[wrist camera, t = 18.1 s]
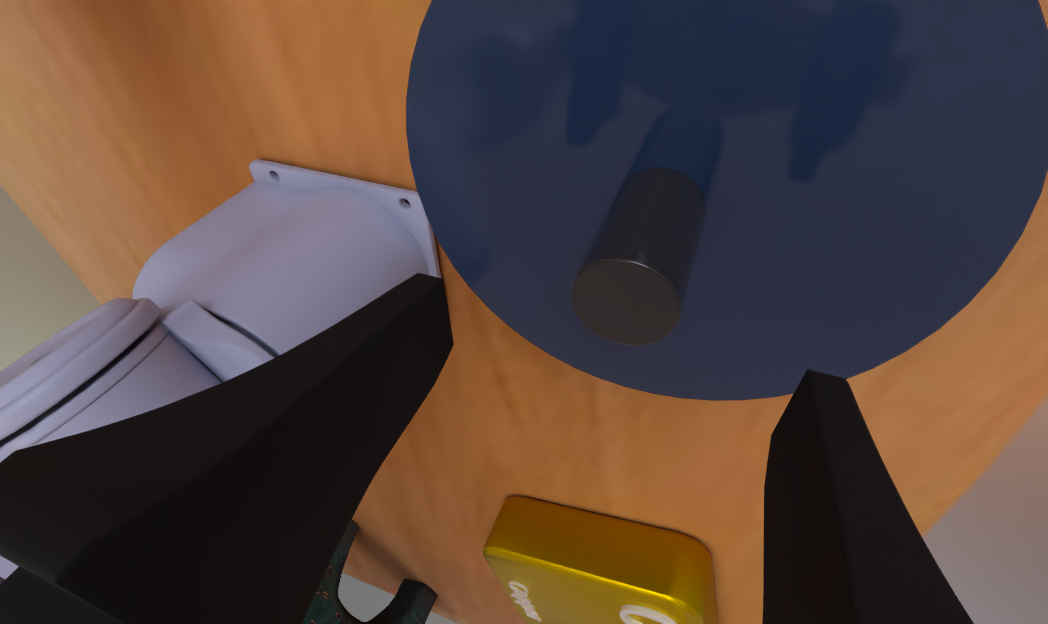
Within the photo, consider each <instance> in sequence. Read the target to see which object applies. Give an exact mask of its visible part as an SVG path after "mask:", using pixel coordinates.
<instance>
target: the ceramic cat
mask: <svg viewBox="0 0 1048 624" xmlns="http://www.w3.org/2000/svg"><path fill="white" fill-rule="evenodd" d="M358 530H359V527H358V526H357V524H355V523H354V522H353V521H352V520H351V521H350V523H349V525H348V527H347V529H346V531H345V533H344V535H343V537H342V539H341V541H340V543H339V545H338V547H337V549H336V551H335V553H334V555H333V557H332V559H331V561H330V563H329V565H328V567H327V570H326V572H325V574H324V576H323V578H322V581H321V583H320V585H319V587H318V589H317V591H316V594H315V596H314V598H313V600H312V602H311V605H310V607H309V609H308V611H307V614H306V616H305V619H304V621H303V623H302V624H425V622H426V619H427V617H428V615H429V613H430V611H431V609H432V607H433V605H434V602H435V600H436V598H437V595H436V594H435V593H434V592H433V591H432V590H431V589H429V588H428V587H427V586H426V585H425V584H423V583H421V582H418V581H413V580H406V579H404V580H403V582H402V583H401V585H400V587H399V589H398V592H397V594H396V596H395V597H394V598H393V600H392V601H391V603H390V604H389V605H388V606H387V607H386V608H385V609H384V610H383V611H381V612H380V613H379V614H378V615H377V616H375V617H374V618H373V619H371V620H370V621H368V622H362V621H360V620H358V619H357V618H355V617H354V616H352V615H351V614H350V613H349V612H348V611H347V610H346V609H345V608H344V606H343V605H342V603H341V601H340V599H339V598H338V586H339V582H340V578H341V574H342V569H343V567H344V564H345V561H346V558H347V556H348V553H349V550H350V547H351V545H352V543H353V540H354V538H355V536H356V534H357V531H358Z"/></svg>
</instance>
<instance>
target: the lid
mask: <svg viewBox="0 0 1048 624" xmlns="http://www.w3.org/2000/svg"><path fill="white" fill-rule="evenodd" d="M406 132H407V140H408V149H409V157H410V163H411V167H412V172H413V176H414V180H415V184H416V188H417V192H418V195H419V197H420V200H421V203H422V206H423V208H424V211H425V214H426V217H427V219H428V221H429V223H430V225H431V227H432V229H433V231H434V233H435V236H436V238H437V240H438V242H439V244H440V245H441V247H442V248H443V250H444V252H445V253H446V255H447V257H448V258H449V260H450V261H451V263H452V265H453V266H454V268H455V269H456V270H457V271H458V273H459V274H460V275H461V277H462V278H463V279H464V281H465V282H466V283H467V285H468V286H469V287H470V288H471V290H472V291H473V292H474V293H475V294H476V295H477V296H478V297H479V298H480V299H481V300H482V301H483V303H484V304H485V305H486V306H487V307H488V308H489V309H490V310H491V311H492V312H494V313H495V314H496V315H497V316H498V317H499V318H500V319H501V320H502V321H503V322H505V323H506V324H507V325H508V326H509V327H511V328H512V329H513V330H515V331H516V332H517V333H519V334H520V335H521V336H522V337H524V338H525V339H526V340H528V341H529V342H531V343H532V344H534V345H535V346H537V347H539V348H540V349H542V350H543V351H545V352H546V353H548V354H550V355H551V356H553V357H555V358H557V359H559V360H561V361H563V362H565V363H567V364H568V365H570V366H572V367H574V368H576V369H579V370H581V371H583V372H586V373H588V374H591V375H593V376H595V377H598V378H600V379H603V380H606V381H609V382H612V383H615V384H618V385H621V386H624V387H628V388H632V389H636V390H640V391H644V392H648V393H652V394H658V395H664V396H671V397H677V398H685V399H698V400H750V399H760V398H771V397H778V396H783V395H789V394H794V392H795V391H796V389H797V387H798V385H799V383H800V381H801V380H802V378H803V376H804V374H805V372H806V370H807V369H809V370H813V371H817V372H821V373H825V374H829V375H833V376H837V377H841V378H845V379H848V378H850V377H853V376H855V375H858V374H860V373H863V372H866V371H868V370H871V369H873V368H875V367H877V366H879V365H881V364H883V363H885V362H887V361H888V360H890V359H892V358H894V357H896V356H898V355H900V354H902V353H904V352H906V351H907V350H909V349H910V348H912V347H913V346H915V345H916V344H918V343H919V342H921V341H922V340H924V339H925V338H927V337H928V336H930V335H931V334H933V333H934V332H936V331H937V330H939V329H940V328H941V327H942V326H943V325H944V324H945V323H947V322H948V321H949V320H950V319H951V318H952V317H954V316H955V315H956V314H957V313H958V312H959V311H961V310H962V309H963V308H964V307H965V306H966V305H968V304H969V303H970V302H971V300H972V299H973V298H974V297H975V296H976V295H977V294H978V293H979V292H980V290H981V289H982V288H983V287H984V286H985V285H986V284H987V283H988V281H989V280H990V279H991V278H992V277H993V276H994V275H995V274H996V273H997V271H998V270H999V268H1000V267H1001V265H1002V264H1003V262H1004V261H1005V259H1006V258H1007V256H1008V255H1009V253H1010V252H1011V250H1012V249H1013V247H1014V246H1015V244H1016V243H1017V241H1018V240H1019V238H1020V237H1021V235H1022V233H1023V231H1024V229H1025V227H1026V225H1027V223H1028V220H1029V218H1030V216H1031V214H1032V212H1033V210H1034V207H1035V205H1036V203H1037V201H1038V199H1039V197H1040V195H1041V192H1042V189H1043V185H1044V181H1045V178H1046V174H1047V170H1048V28H1047V25H1046V22H1045V19H1044V16H1043V13H1042V10H1041V7H1040V4H1039V1H1038V0H432V1H431V3H430V6H429V8H428V11H427V13H426V15H425V18H424V20H423V23H422V25H421V27H420V31H419V35H418V39H417V42H416V46H415V50H414V54H413V57H412V61H411V66H410V74H409V82H408V89H407V97H406Z"/></svg>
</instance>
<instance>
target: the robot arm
mask: <svg viewBox="0 0 1048 624" xmlns="http://www.w3.org/2000/svg"><path fill="white" fill-rule="evenodd" d="M249 169H250V172H251V174H252V177H253V179H254V182H253V183H252V184H250V185H249V186H247V187H246V188H244V189H243V190H241V191H240V192H239V193H237V194H236V195H234V196H233V197H231V198H230V199H228V200H227V201H225V202H224V203H222V204H221V205H219V206H218V207H217V208H215V209H214V210H212V211H211V212H209V213H208V214H206V215H205V216H203V217H202V218H200V219H199V220H198V221H196V222H195V223H193V224H192V225H190V226H189V227H187V228H186V229H184V230H183V231H181V232H180V233H178V234H177V235H176V236H174V237H173V238H171V239H170V240H168V241H167V242H165V243H164V244H163V245H162V246H160V247H159V248H158V249H157V250H156V251H155V252H154V253H153V254H152V255H151V256H150V257H149V259H148V260H147V261H146V263H145V264H144V266H143V267H142V269H141V271H140V273H139V275H138V277H137V280H136V282H135V285H134V288H133V293H132V299H130V298H116V299H113V300H111V301H109V302H107V303H105V304H103V305H101V306H99V307H98V308H96V309H94V310H93V311H91V312H89V313H88V314H86V315H84V316H83V317H81V318H79V319H78V320H76V321H75V322H73V323H71V324H70V325H68V326H67V327H65V328H64V329H62V330H61V331H59V332H57V333H56V334H54V335H53V336H52V337H50V338H48V339H47V340H45V341H44V342H42V343H41V344H40V345H38V346H37V347H35V348H34V349H32V350H31V351H29V352H28V353H26V354H25V355H23V356H22V357H21V358H19V359H18V360H16V361H15V362H13V363H12V364H11V365H9V366H8V367H6V368H5V369H4V370H2V371H1V372H0V624H302V623H303V621H304V619H305V616H306V614H307V611H308V609H309V607H310V605H311V602H312V600H313V598H314V596H315V594H316V591H317V589H318V587H319V585H320V583H321V581H322V578H323V576H324V574H325V572H326V570H327V567H328V565H329V563H330V561H331V559H332V557H333V555H334V553H335V551H336V549H337V547H338V545H339V543H340V541H341V539H342V537H343V535H344V533H345V531H346V529H347V527H348V525H349V523H350V521H351V519H352V517H353V515H354V513H355V511H356V509H357V507H358V505H359V503H360V502H361V500H362V498H363V496H364V494H365V492H366V490H367V488H368V486H369V485H370V483H371V481H372V479H373V478H374V476H375V474H376V473H377V471H378V469H379V468H380V466H381V464H382V463H383V461H384V460H385V458H386V457H387V455H388V454H389V452H390V451H391V449H392V448H393V446H394V445H395V443H396V442H397V440H398V439H399V437H400V436H401V434H402V433H403V431H404V430H405V428H406V427H407V425H408V424H409V422H410V421H411V419H412V418H413V416H414V415H415V413H416V412H417V410H418V409H419V407H420V406H421V404H422V403H423V401H424V400H425V398H426V397H427V395H428V393H429V392H430V390H431V389H432V387H433V386H434V384H435V382H436V380H437V378H438V376H439V374H440V372H441V370H442V368H443V366H444V364H445V362H446V360H447V358H448V356H449V354H450V351H451V349H452V347H453V345H454V343H453V337H452V331H451V325H450V318H449V312H448V306H447V300H446V294H445V287H444V281H443V279H442V278H441V274H440V267H439V261H438V255H437V249H436V243H435V237H434V231H433V229H432V227H431V225H430V223H429V221H428V219H427V217H426V214H425V211H424V208H423V206H422V203H421V200H420V197H419V195H418V192H416V191H412V190H407V189H402V188H397V187H392V186H387V185H382V184H377V183H373V182H368V181H363V180H358V179H353V178H348V177H343V176H339V175H334V174H329V173H324V172H319V171H314V170H309V169H305V168H300V167H295V166H290V165H285V164H280V163H275V162H271V161H266V160H261V159H255V160H254V161H252V162H251V163H250V164H249ZM405 199H406V200H407V201H408V202H409V203H410V204H408V203H407V202H406V201H405ZM763 624H974V623H973V621H972V620H971V619H970V617H969V615H968V614H967V612H966V611H965V609H964V608H963V606H962V604H961V603H960V601H959V600H958V598H957V596H956V595H955V593H954V592H953V590H952V588H951V587H950V585H949V583H948V582H947V580H946V578H945V577H944V575H943V573H942V572H941V570H940V568H939V567H938V565H937V563H936V561H935V559H934V558H933V556H932V554H931V553H930V551H929V549H928V547H927V546H926V544H925V542H924V540H923V538H922V537H921V535H920V533H919V531H918V529H917V527H916V526H915V524H914V522H913V520H912V518H911V516H910V514H909V513H908V511H907V509H906V507H905V505H904V503H903V501H902V499H901V497H900V495H899V493H898V491H897V489H896V487H895V485H894V483H893V481H892V479H891V477H890V475H889V473H888V471H887V469H886V467H885V465H884V463H883V461H882V458H881V456H880V454H879V452H878V450H877V448H876V445H875V443H874V441H873V439H872V437H871V434H870V432H869V430H868V428H867V425H866V423H865V421H864V419H863V416H862V414H861V412H860V409H859V407H858V404H857V402H856V400H855V397H854V395H853V392H852V390H851V387H850V385H849V383H848V382H847V380H846V379H845V378H841V377H837V376H833V375H829V374H825V373H821V372H817V371H813V370H809V369H807V370H806V372H805V374H804V376H803V378H802V380H801V381H800V383H799V385H798V387H797V389H796V391H795V392H794V394H793V396H792V398H791V400H790V402H789V404H788V405H787V407H786V409H785V411H784V413H783V415H782V416H781V418H780V420H779V422H778V424H777V426H776V428H775V429H774V431H773V433H772V435H771V442H770V449H769V455H768V462H767V470H766V478H765V486H764V595H763Z"/></svg>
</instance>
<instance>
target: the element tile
mask: <svg viewBox="0 0 1048 624" xmlns="http://www.w3.org/2000/svg"><path fill="white" fill-rule="evenodd" d="M483 554H484V557H485V559H486V560H487V562H488V564H489V565H490V567H491V568H492V570H493V572H494V573H495V575H496V577H497V578H498V580H499V581H500V583H501V585H502V586H503V588H504V590H505V591H506V593H507V594H508V596H509V598H510V599H511V601H512V603H513V604H514V606H515V607H516V609H517V611H518V612H519V614H520V615H521V617H522V619H523V620H524V621H525V623H526V624H717V613H716V601H715V589H714V578H713V566H712V558H711V556H710V553H709V551H708V550H707V549H706V548H705V547H704V545H703V544H701V543H700V542H698V541H697V540H695V539H693V538H691V537H689V536H686V535H684V534H681V533H678V532H675V531H670V530H666V529H662V528H657V527H653V526H648V525H644V524H640V523H635V522H631V521H627V520H622V519H618V518H613V517H609V516H605V515H600V514H596V513H592V512H587V511H583V510H579V509H574V508H570V507H565V506H561V505H557V504H552V503H548V502H544V501H539V500H535V499H530V498H526V497H510V498H508V499H506V500H505V501H504V503H503V505H502V507H501V509H500V512H499V514H498V516H497V518H496V521H495V523H494V525H493V527H492V530H491V532H490V534H489V536H488V539H487V541H486V543H485V545H484V549H483Z"/></svg>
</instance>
